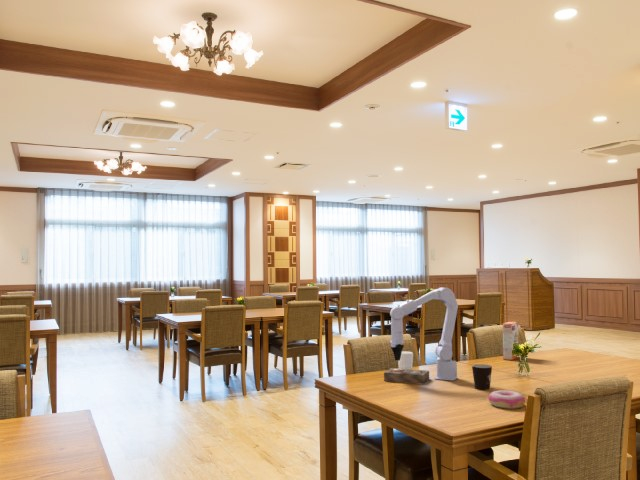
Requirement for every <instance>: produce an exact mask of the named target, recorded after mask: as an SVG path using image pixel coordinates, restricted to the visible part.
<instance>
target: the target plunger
mask: <svg viewBox="0 0 640 480" xmlns="http://www.w3.org/2000/svg"><path fill="white" fill-rule="evenodd" d="M394 368H395V367H394ZM392 371H393V372H403V369H400V368H399V367H398V368H395V369H392Z"/></svg>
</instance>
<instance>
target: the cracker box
mask: <svg viewBox="0 0 640 480" xmlns="http://www.w3.org/2000/svg"><path fill="white" fill-rule="evenodd" d="M514 343H518V344H519V322H518V321H507V322H503V323H502V360H505V361H513V360H516V359H517V358H518V357H517V356H514V355H512V350H513V344H514Z"/></svg>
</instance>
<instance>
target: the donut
mask: <svg viewBox="0 0 640 480" xmlns="http://www.w3.org/2000/svg"><path fill="white" fill-rule="evenodd" d="M488 401H489V403H490V404H491V405H493V406H494V407H496V408H500V409H506V410H507V409H509V410H510V409H513V410H514V409H515V410H517V409H521V408H522V407H523V406H525V403H526V398H525V395H523V394H522V393H520V392H518V391H514V390H501V389H500V390H494V391H492V392H490V393H489V395H488Z"/></svg>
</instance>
